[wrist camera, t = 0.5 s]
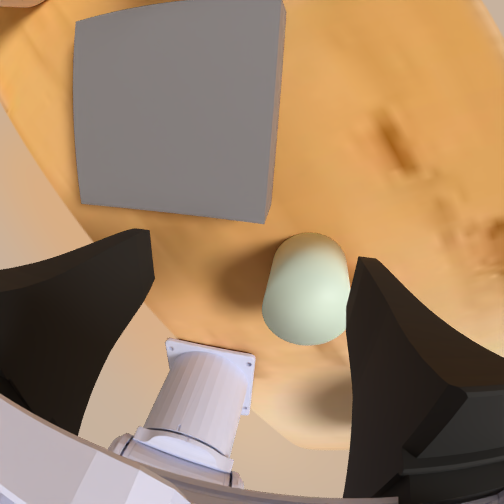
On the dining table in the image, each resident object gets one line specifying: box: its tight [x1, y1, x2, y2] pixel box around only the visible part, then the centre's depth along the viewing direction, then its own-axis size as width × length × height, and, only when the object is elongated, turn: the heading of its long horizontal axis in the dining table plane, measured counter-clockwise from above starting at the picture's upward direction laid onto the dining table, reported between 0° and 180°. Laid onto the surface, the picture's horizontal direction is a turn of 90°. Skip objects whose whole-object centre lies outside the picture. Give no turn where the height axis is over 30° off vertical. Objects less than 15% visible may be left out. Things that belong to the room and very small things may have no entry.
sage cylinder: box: [262, 233, 350, 345], centre depth 20 cm, size 5×5×5 cm
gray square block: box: [73, 0, 286, 224], centre depth 17 cm, size 12×12×3 cm
